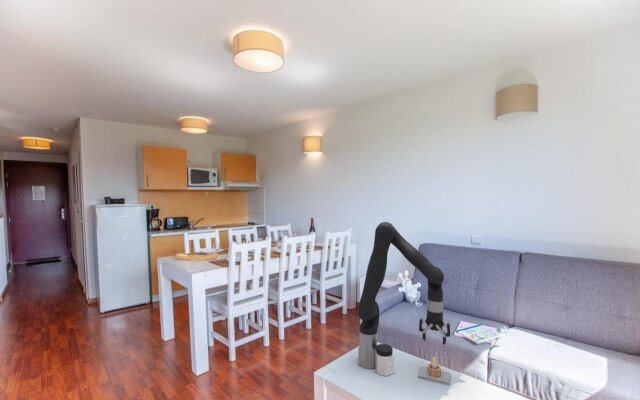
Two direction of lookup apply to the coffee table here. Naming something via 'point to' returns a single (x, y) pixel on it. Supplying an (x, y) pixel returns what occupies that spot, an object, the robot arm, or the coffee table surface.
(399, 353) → the coffee table surface
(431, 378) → the post block
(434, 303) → the robot arm
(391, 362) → the jar
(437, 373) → the ring
